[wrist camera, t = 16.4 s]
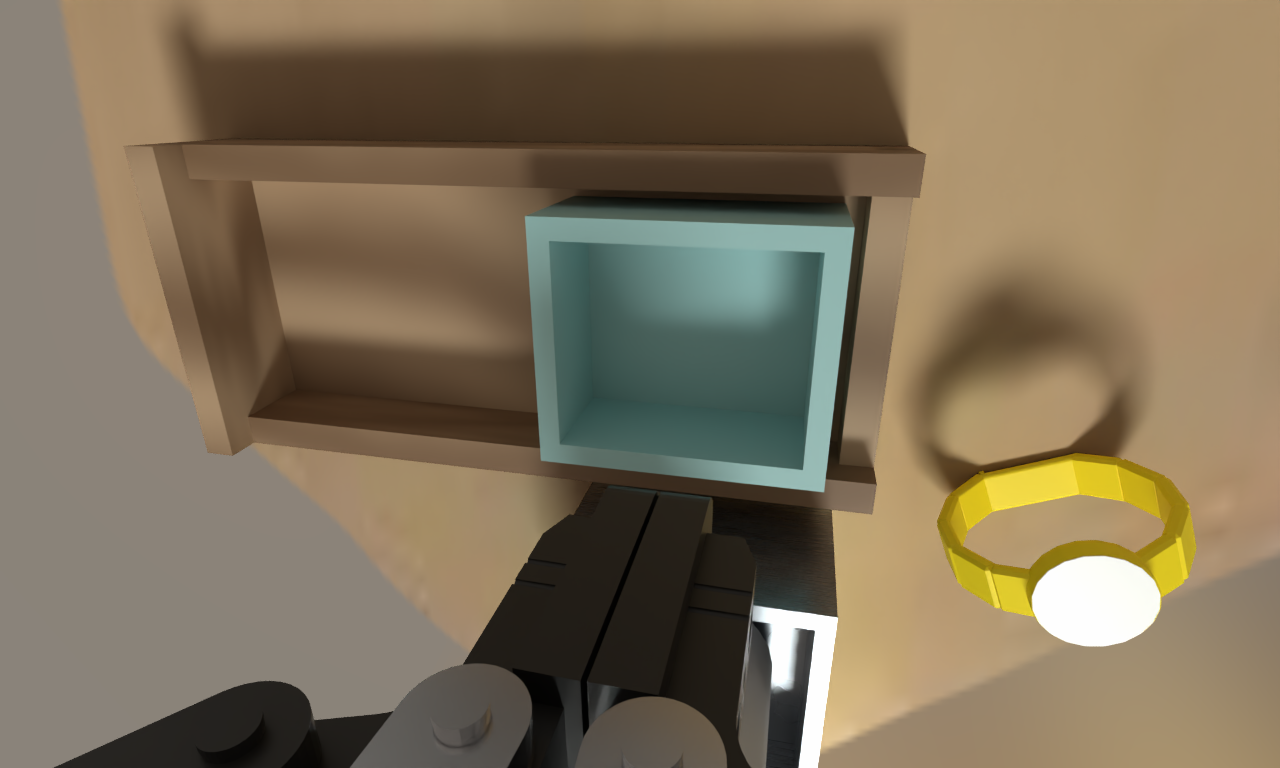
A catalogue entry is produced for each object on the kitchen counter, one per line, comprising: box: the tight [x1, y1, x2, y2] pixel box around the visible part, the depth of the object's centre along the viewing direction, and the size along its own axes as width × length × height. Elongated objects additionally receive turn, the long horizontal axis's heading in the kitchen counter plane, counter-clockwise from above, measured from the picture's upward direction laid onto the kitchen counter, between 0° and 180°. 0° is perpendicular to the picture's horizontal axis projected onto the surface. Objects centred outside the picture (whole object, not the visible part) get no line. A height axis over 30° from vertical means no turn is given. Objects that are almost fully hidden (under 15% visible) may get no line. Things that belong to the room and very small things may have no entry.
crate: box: [525, 196, 855, 492], centre depth 20 cm, size 7×8×4 cm
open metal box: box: [574, 482, 838, 768], centre depth 23 cm, size 8×8×6 cm
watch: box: [937, 453, 1196, 646], centre depth 19 cm, size 6×3×6 cm, turn 112°
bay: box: [124, 139, 926, 514], centre depth 21 cm, size 10×22×4 cm, turn 90°
